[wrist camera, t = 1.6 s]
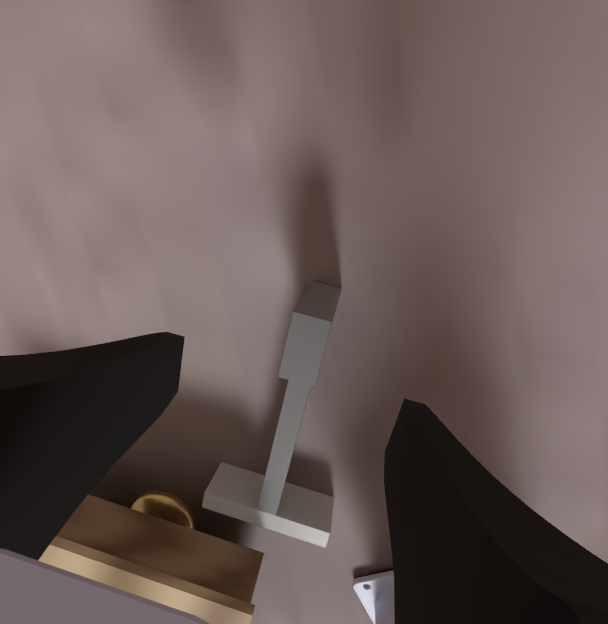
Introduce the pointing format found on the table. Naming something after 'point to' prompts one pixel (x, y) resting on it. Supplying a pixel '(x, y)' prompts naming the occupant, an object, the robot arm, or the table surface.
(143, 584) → the tan cardboard box
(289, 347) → the grey t-shaped piece
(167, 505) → the brass disc
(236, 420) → the table surface
